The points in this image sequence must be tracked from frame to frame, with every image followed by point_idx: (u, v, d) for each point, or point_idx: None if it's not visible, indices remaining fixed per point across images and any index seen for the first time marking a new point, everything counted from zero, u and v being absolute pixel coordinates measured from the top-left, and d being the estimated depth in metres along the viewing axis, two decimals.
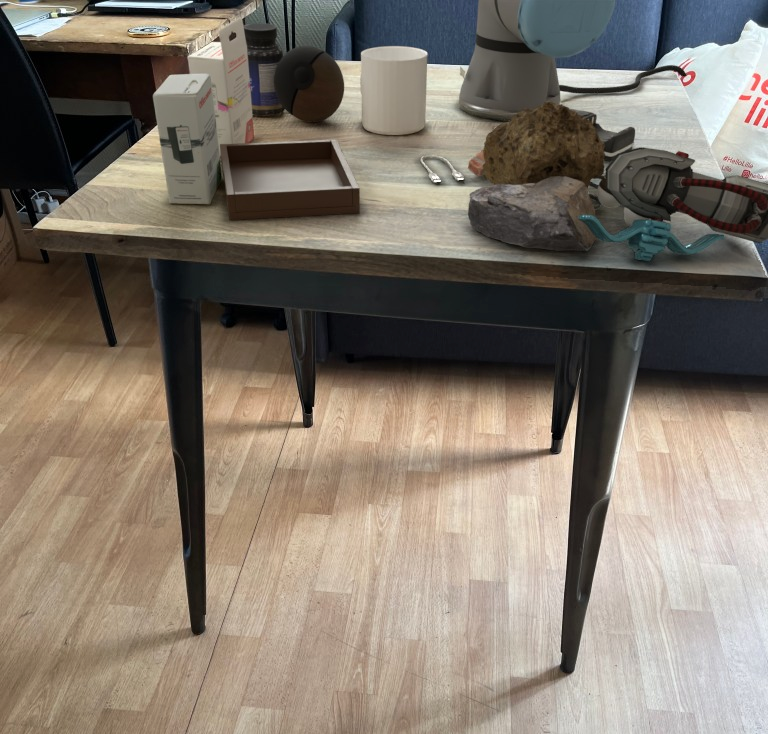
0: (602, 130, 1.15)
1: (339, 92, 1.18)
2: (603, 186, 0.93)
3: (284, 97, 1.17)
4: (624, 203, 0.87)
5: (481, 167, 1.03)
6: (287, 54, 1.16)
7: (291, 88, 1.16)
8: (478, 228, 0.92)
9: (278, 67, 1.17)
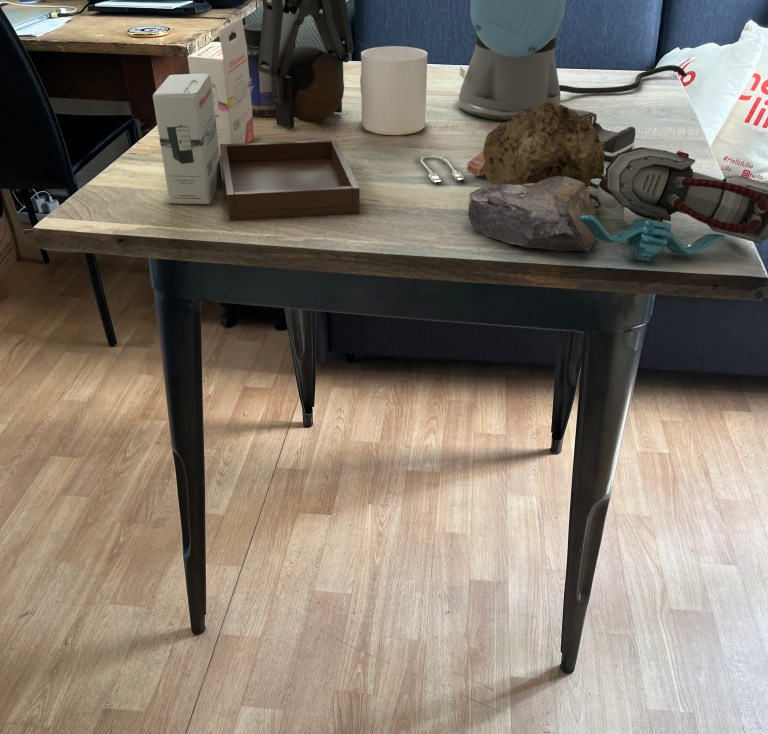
0: (602, 130, 1.15)
1: (339, 92, 1.18)
2: (603, 186, 0.93)
3: None
4: (624, 203, 0.87)
5: (480, 167, 1.03)
6: None
7: None
8: (478, 228, 0.92)
9: None
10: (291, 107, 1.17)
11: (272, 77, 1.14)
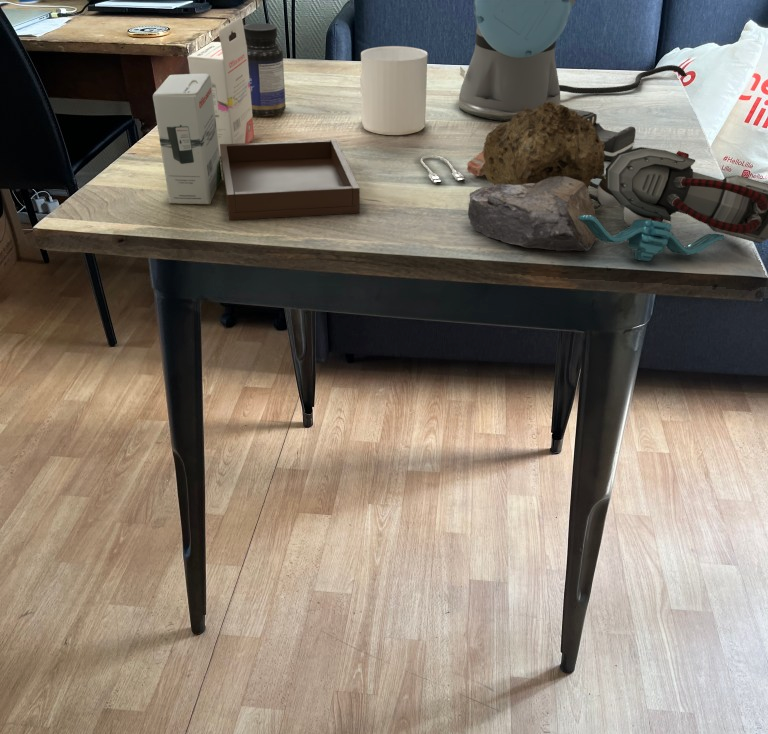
0: (602, 130, 1.15)
1: None
2: (603, 186, 0.93)
3: None
4: (624, 203, 0.87)
5: (480, 167, 1.03)
6: None
7: None
8: (478, 228, 0.92)
9: None
10: None
11: None
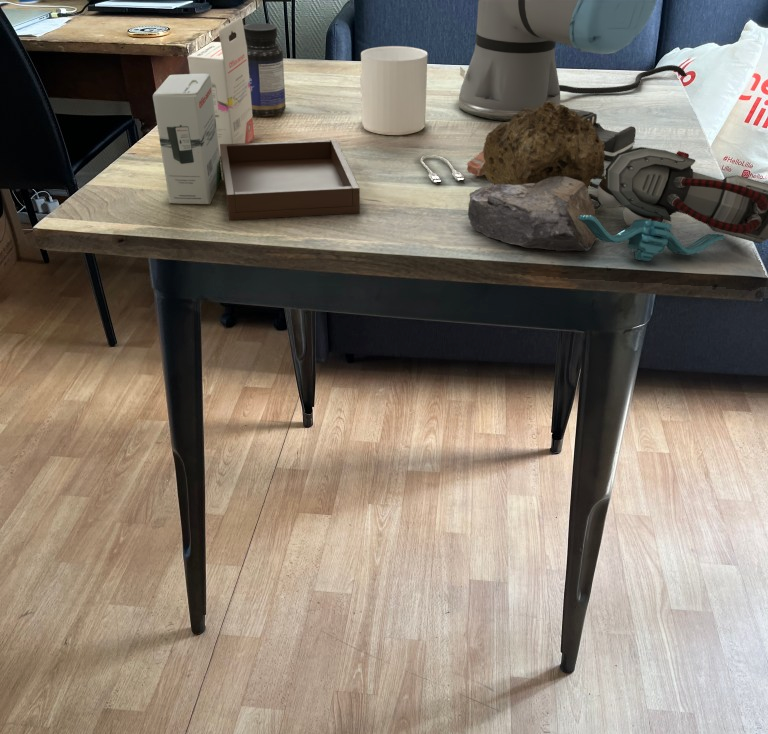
0: (602, 130, 1.15)
1: None
2: (603, 186, 0.93)
3: None
4: (624, 203, 0.87)
5: (480, 167, 1.03)
6: None
7: None
8: (478, 228, 0.92)
9: None
10: None
11: None
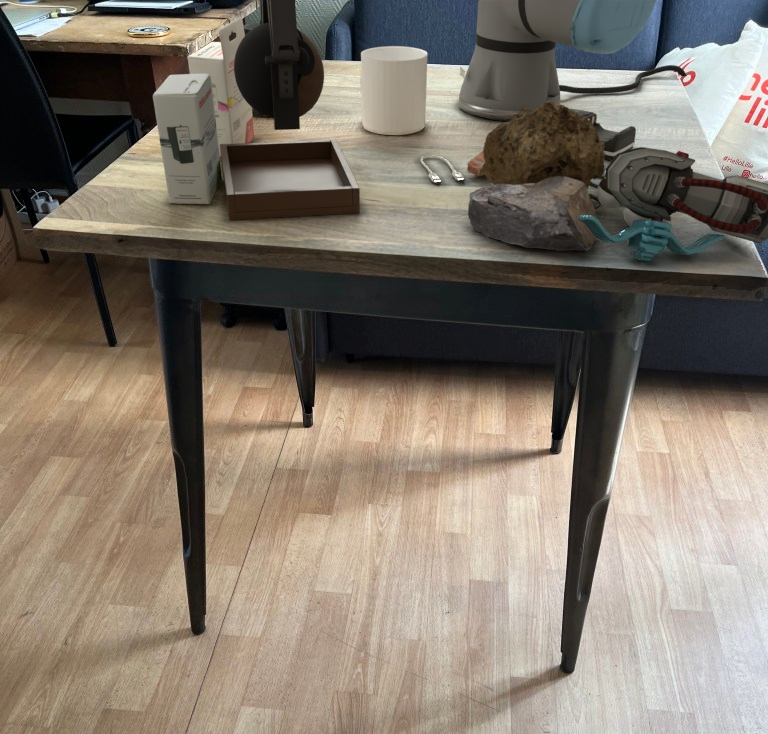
0: (602, 130, 1.15)
1: None
2: (603, 186, 0.93)
3: None
4: (624, 203, 0.87)
5: (480, 167, 1.03)
6: (262, 36, 0.88)
7: None
8: (478, 228, 0.92)
9: (258, 55, 0.88)
10: (298, 101, 0.90)
11: (282, 66, 0.86)
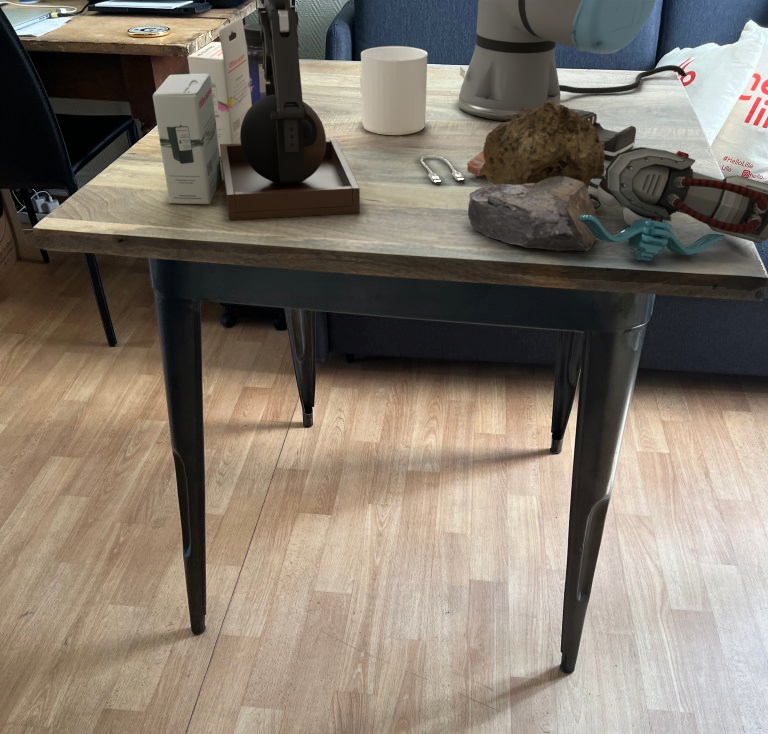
0: (603, 129, 1.15)
1: None
2: (603, 186, 0.93)
3: None
4: (624, 203, 0.87)
5: (480, 167, 1.03)
6: (267, 109, 0.93)
7: None
8: (478, 228, 0.92)
9: (263, 128, 0.93)
10: (303, 154, 0.92)
11: (287, 122, 0.88)
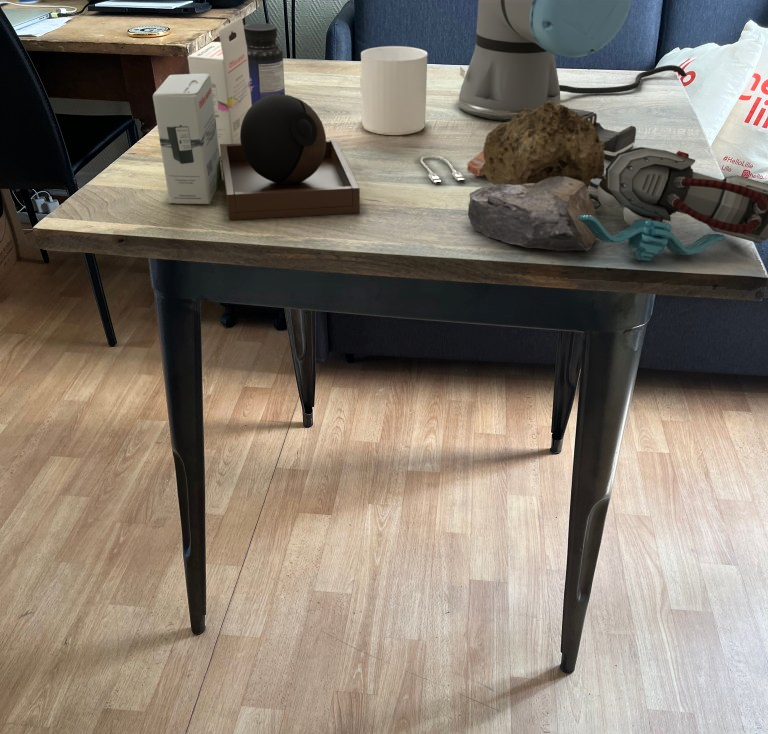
0: (603, 129, 1.15)
1: None
2: (603, 186, 0.93)
3: (283, 161, 0.94)
4: (624, 203, 0.87)
5: (480, 167, 1.03)
6: (267, 109, 0.93)
7: (295, 148, 0.94)
8: (478, 228, 0.92)
9: (263, 128, 0.93)
10: None
11: None
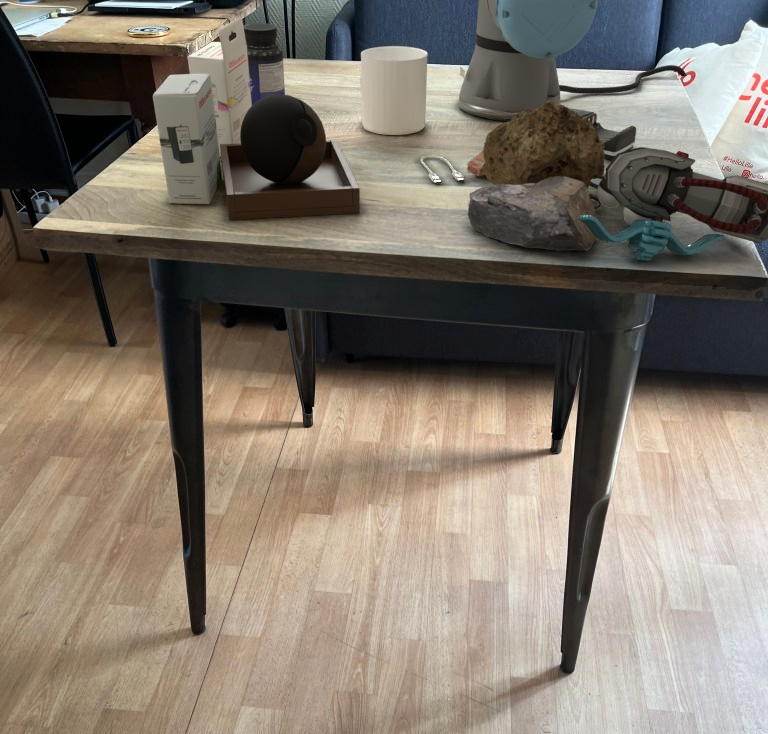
0: (603, 129, 1.15)
1: None
2: (603, 186, 0.93)
3: (283, 161, 0.94)
4: (624, 203, 0.87)
5: (480, 167, 1.03)
6: (267, 109, 0.93)
7: (295, 148, 0.94)
8: (478, 228, 0.92)
9: (263, 128, 0.93)
10: None
11: None
